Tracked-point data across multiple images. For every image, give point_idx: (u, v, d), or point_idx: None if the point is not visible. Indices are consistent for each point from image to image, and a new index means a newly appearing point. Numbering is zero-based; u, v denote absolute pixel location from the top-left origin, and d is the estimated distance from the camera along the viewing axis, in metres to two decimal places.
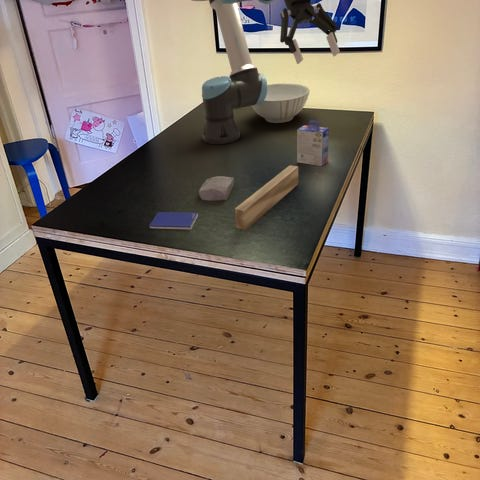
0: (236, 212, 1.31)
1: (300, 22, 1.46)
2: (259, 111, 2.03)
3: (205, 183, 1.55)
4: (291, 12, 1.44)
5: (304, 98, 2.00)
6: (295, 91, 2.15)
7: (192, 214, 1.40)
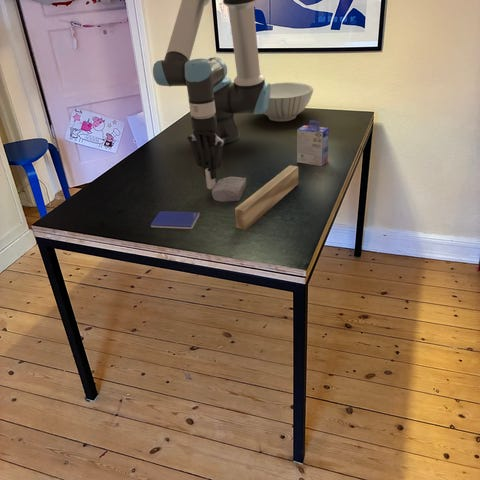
0: (236, 212, 1.31)
1: None
2: None
3: (217, 184, 1.54)
4: None
5: (302, 98, 1.98)
6: (304, 91, 2.13)
7: (193, 213, 1.40)
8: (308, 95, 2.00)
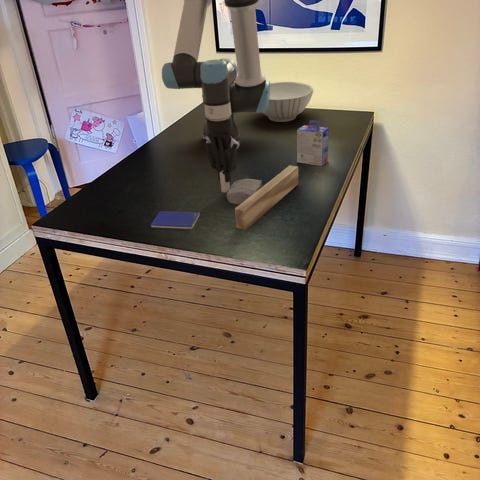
0: (236, 212, 1.31)
1: None
2: None
3: (233, 186, 1.51)
4: None
5: (302, 99, 1.98)
6: (304, 91, 2.12)
7: (193, 213, 1.40)
8: (308, 96, 2.00)
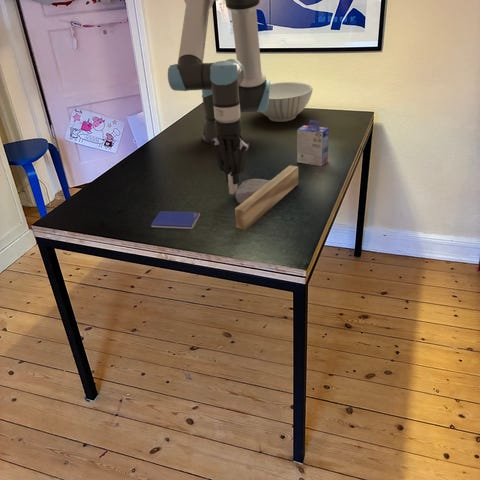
0: (236, 212, 1.31)
1: None
2: None
3: (241, 186, 1.50)
4: None
5: (301, 98, 1.98)
6: (304, 91, 2.12)
7: (193, 213, 1.41)
8: (307, 95, 2.00)
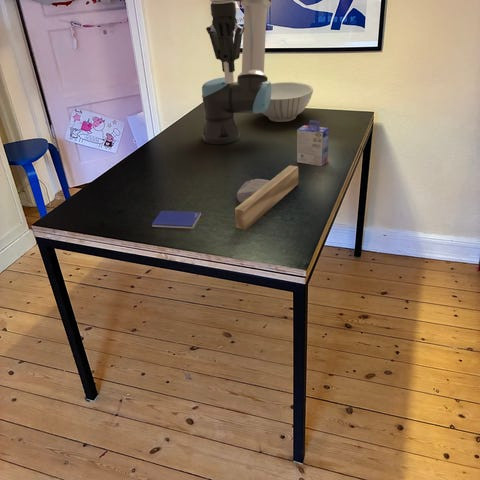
0: (236, 212, 1.31)
1: None
2: None
3: (244, 185, 1.51)
4: (214, 26, 1.47)
5: (301, 99, 1.98)
6: (305, 91, 2.12)
7: (194, 213, 1.41)
8: (307, 96, 1.99)
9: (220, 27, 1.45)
